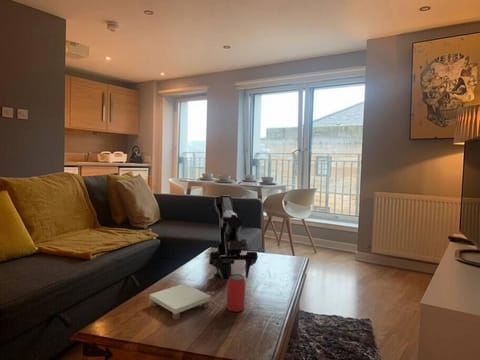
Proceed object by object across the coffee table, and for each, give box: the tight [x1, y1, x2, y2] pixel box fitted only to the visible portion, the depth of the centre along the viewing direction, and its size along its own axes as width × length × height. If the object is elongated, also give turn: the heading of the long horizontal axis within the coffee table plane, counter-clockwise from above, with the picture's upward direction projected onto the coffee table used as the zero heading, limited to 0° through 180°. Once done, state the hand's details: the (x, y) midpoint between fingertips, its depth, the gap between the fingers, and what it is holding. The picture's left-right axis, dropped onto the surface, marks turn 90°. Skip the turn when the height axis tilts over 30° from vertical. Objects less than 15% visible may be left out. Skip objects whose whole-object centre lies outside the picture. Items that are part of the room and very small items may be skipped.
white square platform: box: [148, 283, 212, 320], centre depth 122 cm, size 16×16×4 cm
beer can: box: [226, 273, 246, 312], centre depth 121 cm, size 7×7×12 cm
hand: (235, 278), depth 124 cm, fingers open, 9 cm apart
